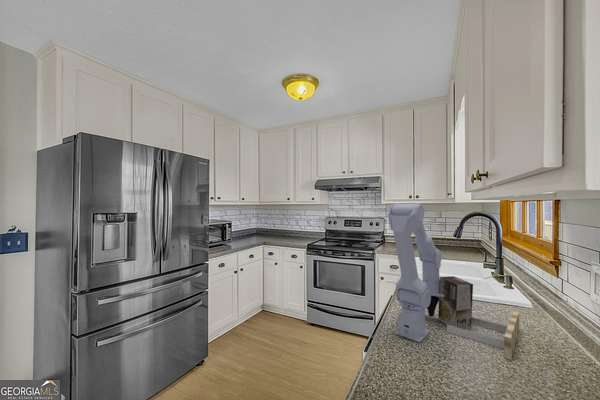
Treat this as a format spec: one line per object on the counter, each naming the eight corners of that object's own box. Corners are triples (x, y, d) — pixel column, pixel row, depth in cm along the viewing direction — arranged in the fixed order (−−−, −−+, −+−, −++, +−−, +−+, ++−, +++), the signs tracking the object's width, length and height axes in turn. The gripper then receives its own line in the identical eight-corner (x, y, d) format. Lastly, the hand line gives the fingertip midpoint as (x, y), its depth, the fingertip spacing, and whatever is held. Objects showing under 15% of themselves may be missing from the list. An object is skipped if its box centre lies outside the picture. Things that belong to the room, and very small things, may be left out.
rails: (506, 350, 76) (506, 341, 76) (446, 331, 87) (446, 324, 87) (512, 333, 85) (511, 326, 85) (457, 319, 96) (457, 312, 97)
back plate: (511, 360, 71) (510, 338, 71) (504, 358, 72) (504, 336, 72) (519, 329, 88) (518, 312, 88) (513, 328, 89) (513, 311, 89)
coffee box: (472, 330, 88) (474, 284, 87) (455, 331, 87) (457, 284, 86) (452, 318, 97) (454, 275, 96) (437, 318, 96) (439, 276, 95)
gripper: (455, 280, 95) (456, 317, 94) (415, 273, 105) (415, 307, 105) (450, 285, 90) (450, 324, 89) (408, 277, 100) (409, 312, 100)
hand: (431, 315), depth 97 cm, fingers closed
